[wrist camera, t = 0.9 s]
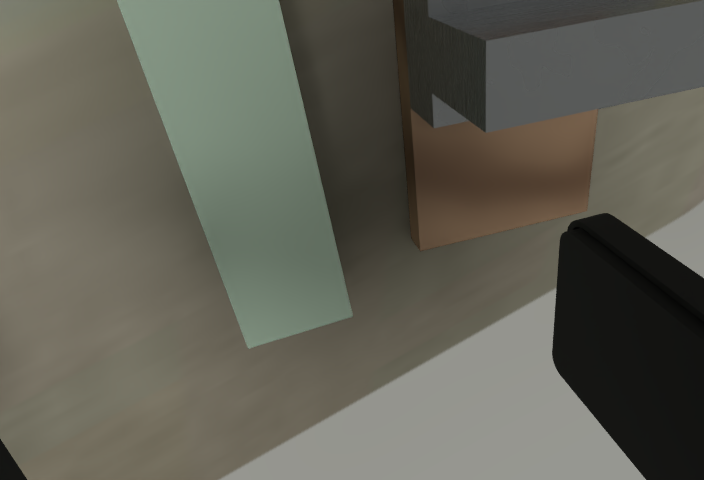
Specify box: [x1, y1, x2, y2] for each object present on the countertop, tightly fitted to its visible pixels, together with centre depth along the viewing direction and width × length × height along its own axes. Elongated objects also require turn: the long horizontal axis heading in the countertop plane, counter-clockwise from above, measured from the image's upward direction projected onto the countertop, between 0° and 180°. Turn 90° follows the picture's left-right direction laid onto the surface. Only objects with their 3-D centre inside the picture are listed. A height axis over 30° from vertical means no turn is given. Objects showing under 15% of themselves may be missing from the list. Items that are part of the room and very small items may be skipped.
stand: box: [393, 0, 704, 251], centre depth 23 cm, size 22×10×10 cm, turn 8°
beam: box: [117, 0, 353, 349], centre depth 23 cm, size 22×5×6 cm, turn 11°
